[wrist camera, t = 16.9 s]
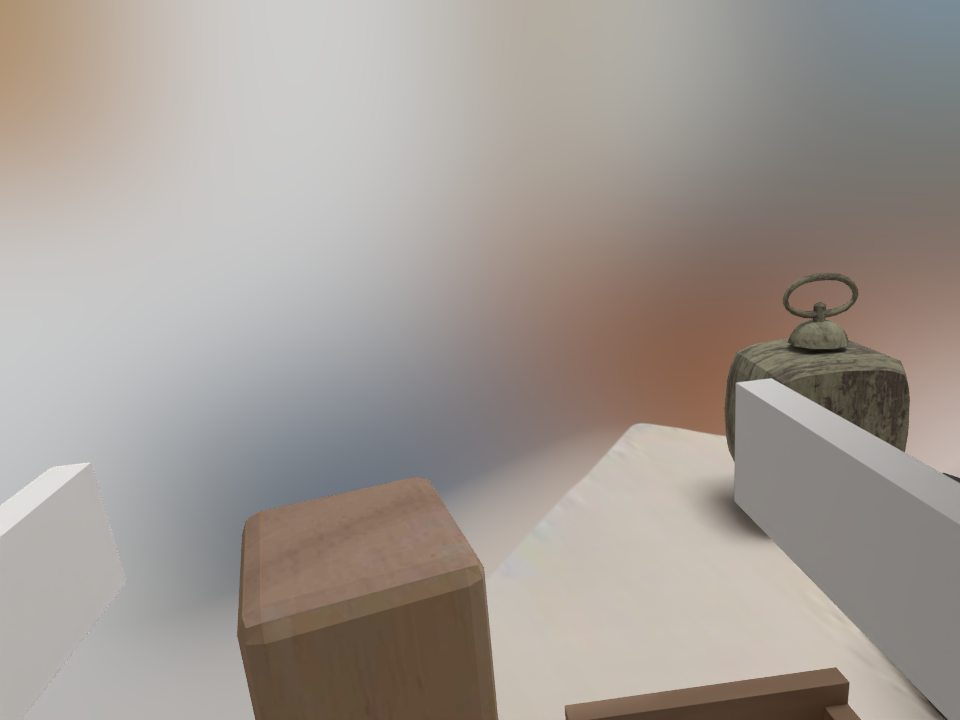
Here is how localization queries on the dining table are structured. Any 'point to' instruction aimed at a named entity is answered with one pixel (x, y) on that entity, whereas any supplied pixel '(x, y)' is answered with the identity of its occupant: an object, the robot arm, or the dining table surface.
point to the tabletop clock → (828, 372)
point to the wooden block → (365, 610)
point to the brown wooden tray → (734, 701)
